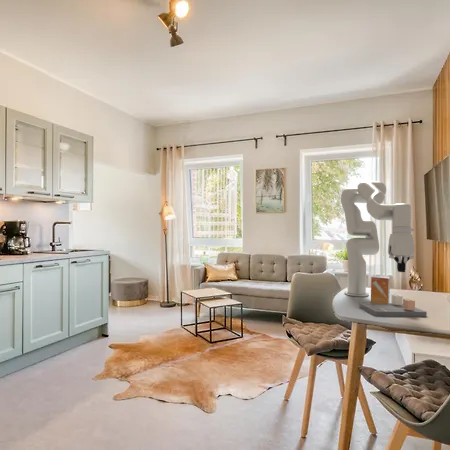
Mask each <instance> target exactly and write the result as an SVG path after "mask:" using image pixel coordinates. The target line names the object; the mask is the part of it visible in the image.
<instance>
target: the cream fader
mask: <svg viewBox="0 0 450 450" xmlns="http://www.w3.org/2000/svg"><path fill="white" fill-rule="evenodd" d="M403 299H404V298H403V295H400V294H396V293H394V294H391V303H393V304H395V305H402V304H403Z"/></svg>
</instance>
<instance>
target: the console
mask: <svg viewBox="0 0 450 450" xmlns="http://www.w3.org/2000/svg"><path fill="white" fill-rule="evenodd" d="M358 305H359V307H358V308H359V309H361V310H364V311H365V312H367V313H369V314H371V315H373V316H375V317H427V313H428V312H427V311H426V310H424V309H420V308H419V307H416V306H415V310H406V309H404V308H403V303H402V305H395V304H393V303H390V302H389V303H371V302H368V303H367V302H365V303H364V302H359V304H358Z"/></svg>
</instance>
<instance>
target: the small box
mask: <svg viewBox="0 0 450 450" xmlns="http://www.w3.org/2000/svg"><path fill="white" fill-rule="evenodd" d="M370 279H371V281H370V303H390V295H391V294H390V290H391V289H390V288H391V287H390V283H391V282H390V281H391V277H390V276H381V275H372V276H370Z"/></svg>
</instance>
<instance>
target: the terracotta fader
mask: <svg viewBox="0 0 450 450" xmlns="http://www.w3.org/2000/svg"><path fill="white" fill-rule="evenodd" d="M402 304H403V308H404V309H406V310H415V307H416V300H414V299H410V298H403V302H402Z"/></svg>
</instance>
